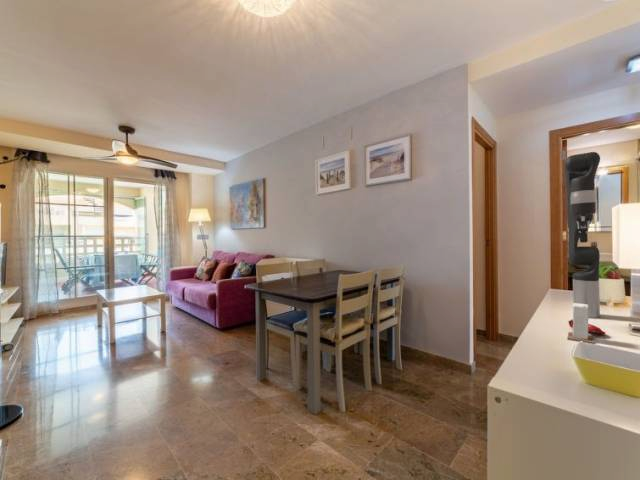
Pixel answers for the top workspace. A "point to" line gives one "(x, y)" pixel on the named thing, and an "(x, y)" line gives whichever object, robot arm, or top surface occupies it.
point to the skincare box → (580, 321)
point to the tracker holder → (590, 327)
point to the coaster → (570, 337)
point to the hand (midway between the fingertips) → (583, 242)
